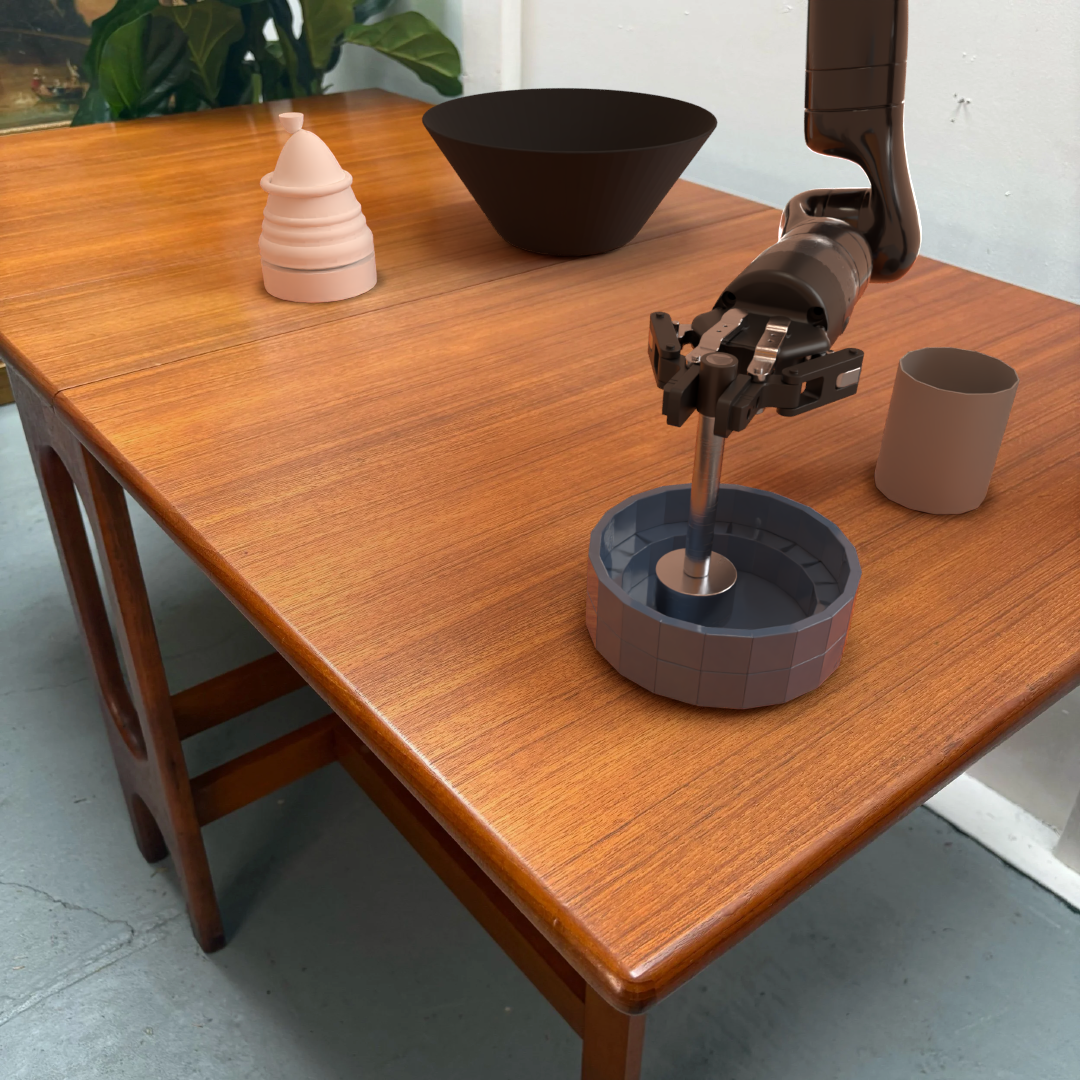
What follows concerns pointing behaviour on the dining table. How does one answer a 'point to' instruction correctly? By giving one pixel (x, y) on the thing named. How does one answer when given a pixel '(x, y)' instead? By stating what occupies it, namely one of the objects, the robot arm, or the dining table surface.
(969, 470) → the cup
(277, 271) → the honey pot
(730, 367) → the metal rod on disc
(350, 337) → the dining table surface
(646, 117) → the bowl
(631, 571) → the bowl
